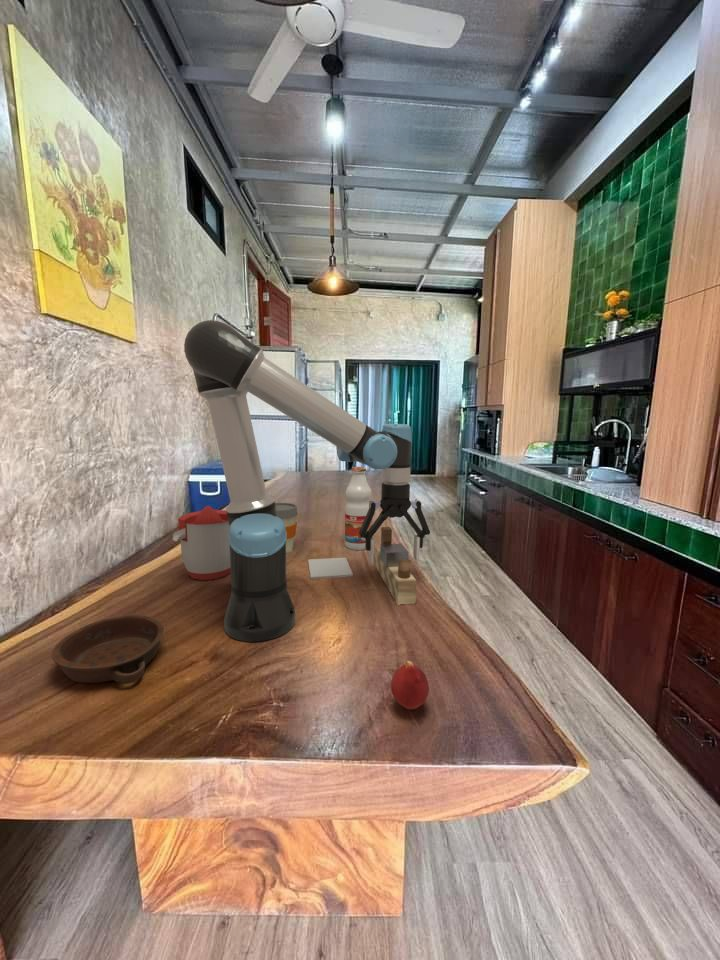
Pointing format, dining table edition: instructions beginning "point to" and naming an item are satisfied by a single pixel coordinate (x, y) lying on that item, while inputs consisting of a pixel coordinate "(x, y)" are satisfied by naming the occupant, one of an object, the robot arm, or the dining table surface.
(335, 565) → the mat
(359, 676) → the dining table surface
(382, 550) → the lever cap
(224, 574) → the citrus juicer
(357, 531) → the fruit juice
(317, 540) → the dining table surface
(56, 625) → the dining table surface
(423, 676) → the onion
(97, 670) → the dish
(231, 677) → the dining table surface
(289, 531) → the reusable coffee cup
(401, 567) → the wooden peg base
